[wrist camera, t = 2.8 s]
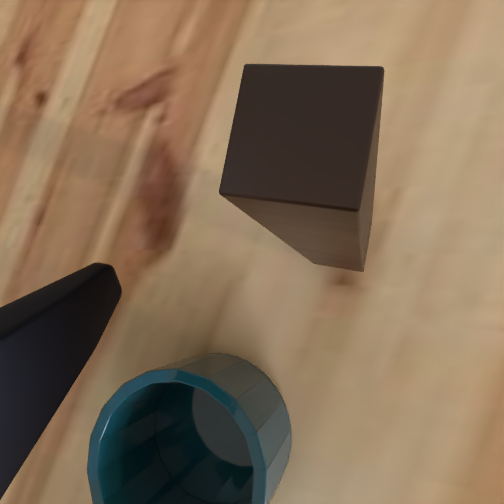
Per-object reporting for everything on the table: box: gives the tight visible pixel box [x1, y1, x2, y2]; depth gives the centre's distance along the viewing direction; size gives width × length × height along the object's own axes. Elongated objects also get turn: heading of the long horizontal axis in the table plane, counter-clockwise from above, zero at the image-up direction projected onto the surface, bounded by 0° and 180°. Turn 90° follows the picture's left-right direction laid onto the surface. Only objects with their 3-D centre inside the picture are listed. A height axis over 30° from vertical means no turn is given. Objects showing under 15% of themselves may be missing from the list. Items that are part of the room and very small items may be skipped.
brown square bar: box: [219, 64, 384, 272], centre depth 13 cm, size 2×2×13 cm
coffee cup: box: [87, 353, 291, 504], centre depth 17 cm, size 7×8×5 cm
